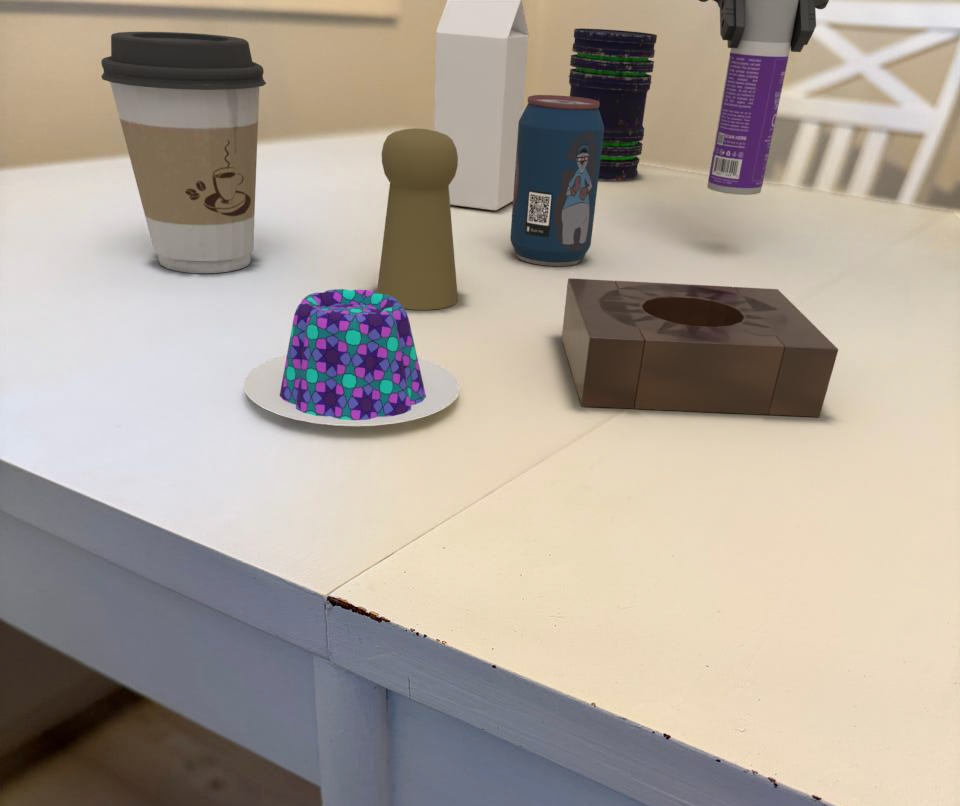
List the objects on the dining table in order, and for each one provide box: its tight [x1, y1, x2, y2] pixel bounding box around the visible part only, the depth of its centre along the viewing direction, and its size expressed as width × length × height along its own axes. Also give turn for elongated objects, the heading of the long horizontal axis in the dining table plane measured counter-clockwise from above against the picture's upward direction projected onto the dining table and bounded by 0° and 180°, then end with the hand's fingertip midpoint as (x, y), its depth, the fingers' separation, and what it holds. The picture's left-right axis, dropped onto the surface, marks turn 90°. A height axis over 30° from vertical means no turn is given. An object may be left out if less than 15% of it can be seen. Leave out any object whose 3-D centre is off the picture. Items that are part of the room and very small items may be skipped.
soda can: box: [509, 94, 604, 267], centre depth 78 cm, size 7×7×12 cm
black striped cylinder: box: [568, 28, 658, 182], centre depth 113 cm, size 10×10×15 cm
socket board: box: [561, 278, 839, 418], centre depth 58 cm, size 14×12×4 cm
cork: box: [376, 127, 459, 311], centre depth 66 cm, size 6×6×11 cm
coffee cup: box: [100, 31, 267, 274], centre depth 70 cm, size 11×11×15 cm
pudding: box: [243, 288, 461, 427], centre depth 52 cm, size 12×12×5 cm
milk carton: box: [433, 0, 530, 211], centre depth 93 cm, size 7×7×19 cm
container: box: [706, 0, 799, 196], centre depth 78 cm, size 5×5×15 cm
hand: (768, 41), depth 74 cm, fingers closed on container, 4 cm apart
